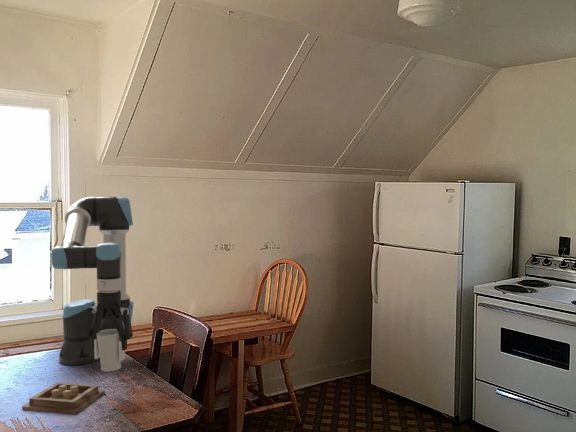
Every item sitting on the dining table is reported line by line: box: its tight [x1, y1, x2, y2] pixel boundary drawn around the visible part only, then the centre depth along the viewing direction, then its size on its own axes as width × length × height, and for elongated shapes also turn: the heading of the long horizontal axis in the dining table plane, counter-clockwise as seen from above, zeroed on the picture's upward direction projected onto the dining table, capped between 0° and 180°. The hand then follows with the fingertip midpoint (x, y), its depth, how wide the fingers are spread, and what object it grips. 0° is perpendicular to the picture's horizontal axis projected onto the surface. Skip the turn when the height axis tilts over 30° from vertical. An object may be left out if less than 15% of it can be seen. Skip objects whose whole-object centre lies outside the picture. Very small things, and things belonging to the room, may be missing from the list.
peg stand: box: [21, 382, 106, 415], centre depth 185 cm, size 18×18×4 cm
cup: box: [96, 329, 122, 372], centre depth 190 cm, size 8×8×12 cm
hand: (109, 358), depth 190 cm, fingers closed on cup, 8 cm apart
